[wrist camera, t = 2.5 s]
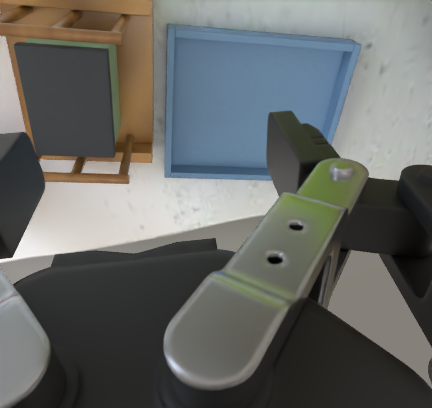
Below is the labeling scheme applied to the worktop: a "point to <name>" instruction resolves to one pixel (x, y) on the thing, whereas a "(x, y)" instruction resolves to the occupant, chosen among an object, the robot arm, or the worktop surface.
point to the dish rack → (126, 61)
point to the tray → (246, 95)
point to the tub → (70, 96)
